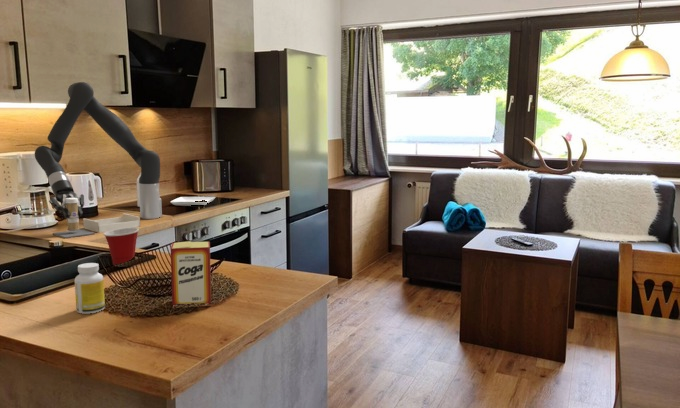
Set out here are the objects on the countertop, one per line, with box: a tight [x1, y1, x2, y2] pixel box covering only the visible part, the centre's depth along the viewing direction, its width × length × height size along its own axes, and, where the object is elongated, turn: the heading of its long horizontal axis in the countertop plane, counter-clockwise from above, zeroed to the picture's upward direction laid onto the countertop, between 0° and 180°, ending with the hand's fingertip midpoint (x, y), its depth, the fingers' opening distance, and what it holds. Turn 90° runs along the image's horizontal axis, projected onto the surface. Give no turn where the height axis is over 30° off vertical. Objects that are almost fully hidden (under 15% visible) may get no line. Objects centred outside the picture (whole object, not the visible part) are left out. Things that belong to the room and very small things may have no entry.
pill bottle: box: [74, 262, 106, 315], centre depth 131 cm, size 6×6×12 cm
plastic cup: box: [102, 227, 140, 266], centre depth 173 cm, size 11×11×12 cm
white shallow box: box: [82, 212, 141, 234], centre depth 237 cm, size 19×14×4 cm
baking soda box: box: [170, 240, 212, 305], centre depth 137 cm, size 10×6×16 cm
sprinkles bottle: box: [66, 198, 80, 231], centre depth 220 cm, size 5×5×14 cm
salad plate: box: [169, 196, 216, 207], centre depth 310 cm, size 21×21×3 cm
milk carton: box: [136, 172, 141, 208], centre depth 298 cm, size 7×7×19 cm
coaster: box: [52, 228, 96, 239], centre depth 221 cm, size 12×12×1 cm
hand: (74, 216), depth 219 cm, fingers closed on sprinkles bottle, 4 cm apart
